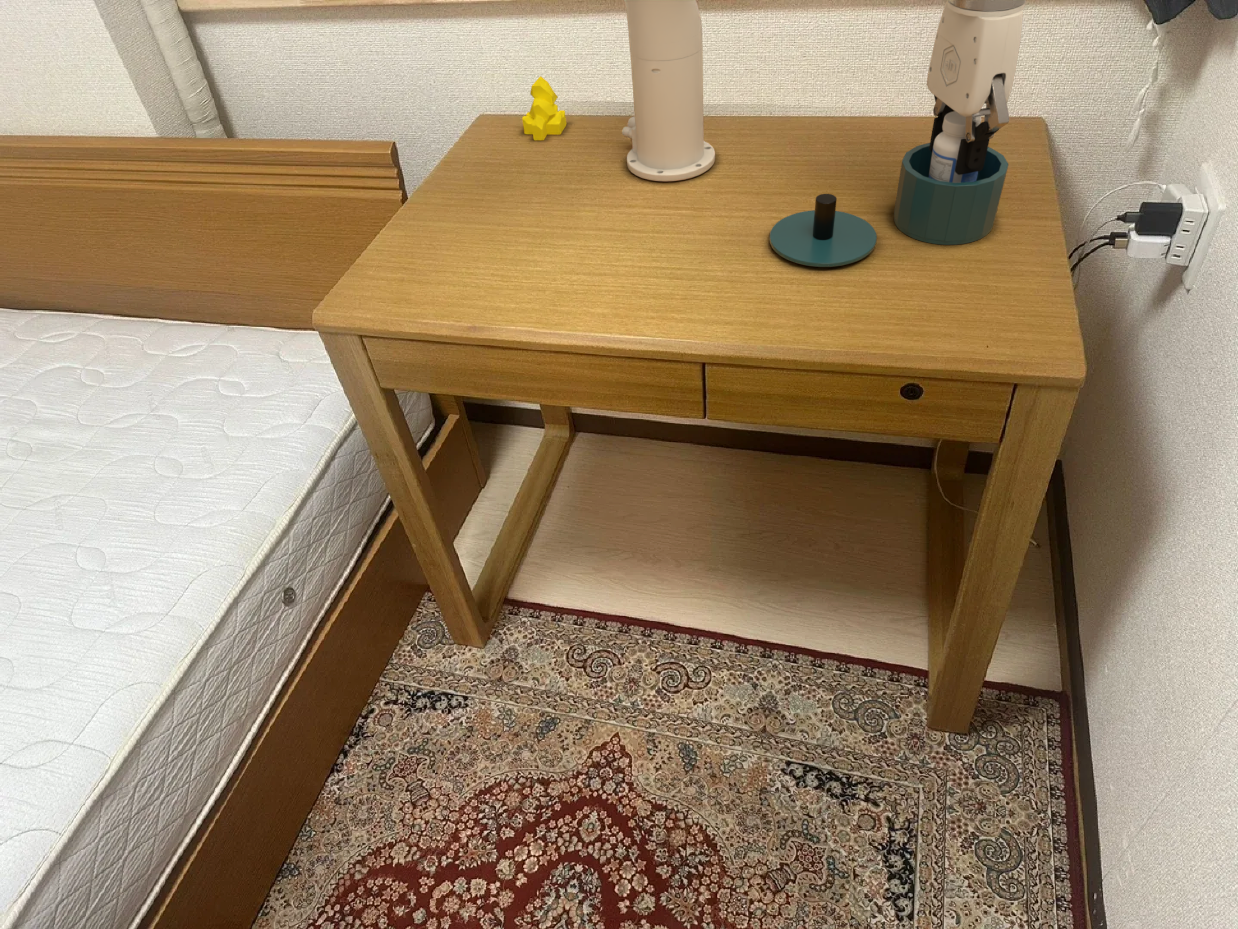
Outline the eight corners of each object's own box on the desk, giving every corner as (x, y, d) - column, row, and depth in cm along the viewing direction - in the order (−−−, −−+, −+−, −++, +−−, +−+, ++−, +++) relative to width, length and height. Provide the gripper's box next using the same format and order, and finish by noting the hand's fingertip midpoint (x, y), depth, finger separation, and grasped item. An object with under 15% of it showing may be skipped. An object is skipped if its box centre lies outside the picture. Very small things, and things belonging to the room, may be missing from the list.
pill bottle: (967, 186, 104) (984, 106, 98) (976, 207, 101) (994, 126, 94) (921, 187, 105) (935, 108, 98) (928, 209, 101) (942, 128, 95)
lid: (747, 246, 104) (749, 202, 100) (813, 207, 110) (817, 163, 106) (831, 283, 97) (836, 237, 93) (897, 239, 103) (904, 194, 99)
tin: (874, 223, 106) (882, 165, 100) (928, 189, 111) (939, 132, 106) (958, 255, 99) (971, 195, 94) (1011, 217, 104) (1027, 158, 99)
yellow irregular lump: (520, 139, 132) (512, 88, 127) (535, 118, 138) (527, 68, 132) (556, 140, 131) (550, 88, 125) (569, 118, 136) (563, 68, 131)
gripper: (915, -27, 93) (892, 136, 105) (998, 20, 81) (961, 199, 93) (980, -37, 93) (949, 126, 106) (1072, 8, 81) (1025, 187, 94)
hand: (955, 158), depth 99 cm, fingers closed on pill bottle, 5 cm apart
